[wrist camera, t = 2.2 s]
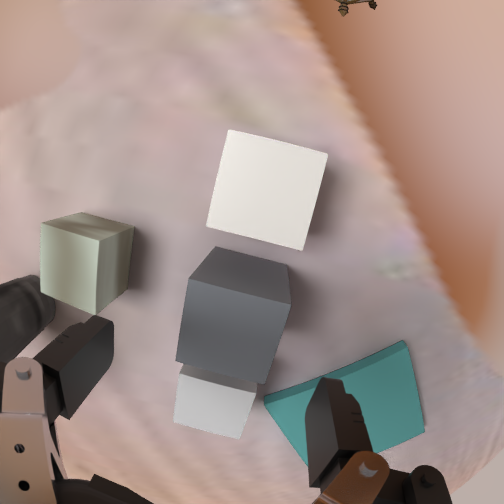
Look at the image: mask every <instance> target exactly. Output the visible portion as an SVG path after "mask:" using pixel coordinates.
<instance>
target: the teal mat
mask: <svg viewBox="0 0 504 504" xmlns="http://www.w3.org/2000/svg"><path fill="white" fill-rule="evenodd" d="M322 377H327V378H334V379H340V380H342V381H343V384H344V388H345V392H346V393H348V394H352V395H353V396H354V397H355V399H356V400H357V401H358V402H359V404H360V407H361V411H362V415H363V417H364V421H365V422H364V423H365V424H366V427H367V431H368V434H369V438H370V441H371V445H372V448H373V452H375V453H379V452H381V451H384V450H386V449H389V448H391V447H393V446H396V445H398V444H400V443H402V442H405V441H407V440H409V439H411V438H413V437H415V436H417V435H419V434H422V433H424V432H425V429H424V423H423V417H422V411H421V406H420V401H419V395H418V390H417V385H416V381H415V376H414V372H413V367H412V363H411V359H410V355H409V351H408V347H407V345H406V344H405V343H404V341H403V340H402V341H400V342H398V343H396V344H394V345H392V346H390V347H388V348H386V349H384V350H382V351H380V352H377V353H375V354H373V355H371V356H369V357H366V358H364V359H362V360H360V361H357V362H355V363H353V364H350V365H348V366H346V367H343V368H341V369H339V370H336V371H334V372H331V373H329V374H326V375H324V376H321V377H318V378H316V379H313V380H310V381H308V382H305V383H302V384H299V385H297V386H294V387H291V388H288V389H285V390H282V391H279V392H276V393H273V394H270V395H267V396H265V397H264V406H265V407H266V409H267V410H268V412H269V413H270V414H271V416H272V417H273V419H274V420H275V422H276V423H277V425H278V426H279V428H280V429H281V430H282V432H283V433H284V435H285V436H286V437H287V439H288V440H289V442H290V443H291V445H292V446H293V447H294V449H295V450H296V451H297V453H298V454H299V456H300V457H301V458H302V460H303V461H304V462H305V464H306V465H307V466H308V457H307V443H306V430H305V412H306V408H307V406H308V403H309V401H310V399H311V397H312V395H313V393H314V391H315V389H316V387H317V385H318V382H319V380H320V379H321V378H322Z"/></svg>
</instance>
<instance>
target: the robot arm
mask: <svg viewBox="0 0 504 504" xmlns="http://www.w3.org/2000/svg"><path fill="white" fill-rule="evenodd" d="M113 356H114V324H113V322H112V321H110V320H107V319H105V318H102V317H99V316H97V315H94V316H92V317H91V318H90V319H89V320H88V321H87V322H86V323H84V324H83V323H81V322H80V323H78V324H75V325H72V326H70V327H68V328H67V329H66V330H65V331H64V332H62V334H61V335H59V336H58V337H57V338H55V340H53V341H52V342H51V343H50V344H49V345H47V346H46V347H45V348H44V349H43V350H42V351H41V352H39V353H38V354H37V355H36V356H35V357H34V358H33V359H32V358H28V357H19V358H15V359H13V360H11V361H10V362H9V363H8V364H7V363H4V362H1V361H0V504H153V503H152V502H150V501H148V500H147V499H145V498H143V497H141V496H140V495H138V494H137V493H135V492H133V491H132V490H130V489H129V488H127V487H124V486H122V485H119V484H117V483H114V482H112V481H109V480H107V479H105V478H103V477H100V476H98V475H96V474H94V476H93V477H92V479H91V481H88V480H81V479H68V477H67V474H66V471H65V468H64V465H63V461H62V456H61V451H60V445H59V440H58V434H57V427H56V422H55V419H56V418H57V417H58V416H59V415H61V416H63V417H65V418H67V419H68V420H70V418H71V417H72V416H73V414H74V413H75V412H76V410H77V409H78V408H79V406H80V405H81V404H82V402H83V401H84V400H85V398H86V397H87V396H88V394H89V393H90V392H91V391H92V389H93V388H94V387H95V385H96V384H97V383H98V381H99V380H100V379H101V378H102V376H103V375H104V374H105V372H106V371H107V370H108V369H109V367H110V365H111V363H112V360H113ZM364 422H365V421H364V417H363V415H362V411H361V407H360V404H359V402H358V401H357V400H356V399H355V397H354V396H353V395H352V394H348V393H346V392H345V388H344V384H343V381H342V380H340V379H334V378H327V377H322V378H321V379H320V380H319V382H318V385H317V387H316V389H315V391H314V393H313V395H312V397H311V399H310V401H309V403H308V406H307V408H306V412H305V430H306V443H307V457H308V471H309V487H314V488H320V491H321V494H320V495H319V497H318V498H317V499H316V500H315V501H314V502H313V503H312V504H452V501H451V497H450V494H449V491H448V488H447V485H446V483H445V480H444V477H443V475H442V474H441V473H440V471H438V470H437V469H436V468H434V467H432V466H428V465H421V466H418V467H416V468H415V469H414V470H413V471H412V472H411V473H406V472H401V471H397V470H393V469H390V468H389V465H388V463H387V461H386V460H385V459H384V458H383V457H382V456H381V455H379V454H377V453H375V452H373V448H372V445H371V441H370V438H369V434H368V431H367V427H366V424H365V423H364Z"/></svg>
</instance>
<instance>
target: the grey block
mask: <svg viewBox="0 0 504 504" xmlns="http://www.w3.org/2000/svg"><path fill="white" fill-rule="evenodd" d="M256 391H257V383H256V382H251V381H247V380H243V379H239V378H234V377H230V376H226V375H223V374H219V373H215V372H211V371H208V370H204V369H201V368H197V367H194V366H190V365H187V364H183V366H182V369H181V371H180V373H179V378H178V385H177V393H176V400H175V408H174V416H173V422H175V423H178V424H182V425H185V426H188V427H192V428H195V429H199V430H202V431H206V432H210V433H214V434H218V435H222V436H226V437H231V438H235V439H240V437H241V434H242V431H243V429H244V426H245V423H246V421H247V418H248V415H249V412H250V410H251V407H252V404H253V401H254V398H255V395H256Z"/></svg>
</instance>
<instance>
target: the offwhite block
mask: <svg viewBox="0 0 504 504" xmlns="http://www.w3.org/2000/svg"><path fill="white" fill-rule="evenodd" d="M327 157H328V154H326V153H323V152H319V151H316V150H312V149H309V148H305V147H301V146H298V145H294V144H290V143H286V142H282V141H278V140H274V139H270V138H266V137H261V136H257V135H252V134H248V133H243V132H239V131H234V130H228V134H227V138H226V142H225V146H224V150H223V154H222V158H221V162H220V166H219V170H218V175H217V179H216V183H215V188H214V192H213V196H212V201H211V205H210V210H209V215H208V219H207V224H206V227H210V228H214V229H218V230H222V231H226V232H230V233H234V234H238V235H242V236H246V237H250V238H254V239H258V240H262V241H266V242H270V243H274V244H278V245H281V246H285V247H289V248H293V249H297V250H301V251H302V250H303V247H304V243H305V240H306V236H307V233H308V229H309V226H310V222H311V218H312V215H313V211H314V207H315V204H316V200H317V196H318V192H319V189H320V185H321V181H322V177H323V173H324V169H325V165H326V161H327Z"/></svg>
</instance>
